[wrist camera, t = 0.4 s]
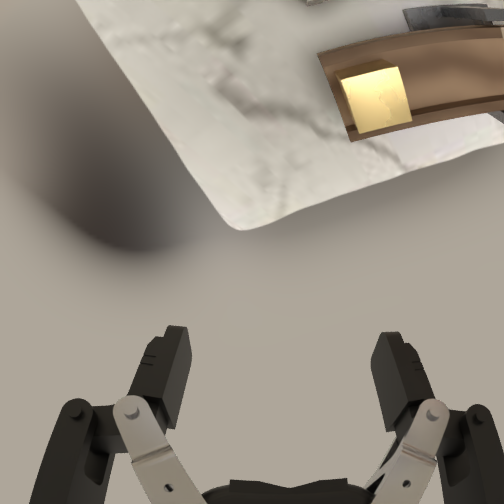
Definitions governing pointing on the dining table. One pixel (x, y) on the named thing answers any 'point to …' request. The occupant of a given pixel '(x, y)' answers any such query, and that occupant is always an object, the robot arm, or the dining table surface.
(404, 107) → the block
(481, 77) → the beam
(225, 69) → the dining table surface
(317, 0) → the food container
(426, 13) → the pivot stand
